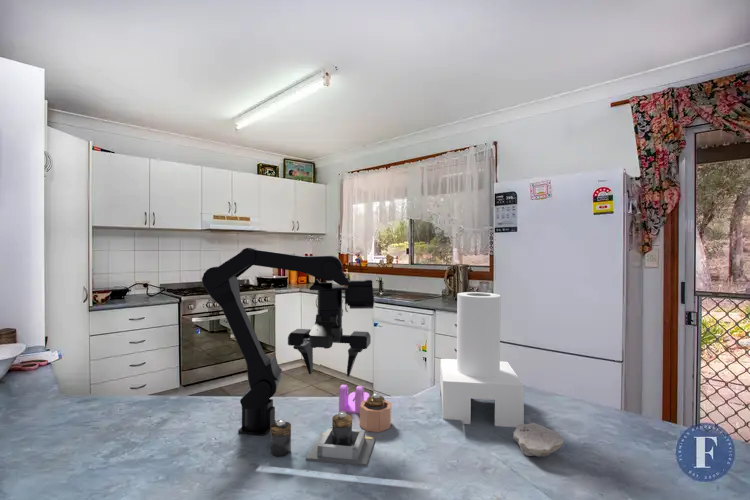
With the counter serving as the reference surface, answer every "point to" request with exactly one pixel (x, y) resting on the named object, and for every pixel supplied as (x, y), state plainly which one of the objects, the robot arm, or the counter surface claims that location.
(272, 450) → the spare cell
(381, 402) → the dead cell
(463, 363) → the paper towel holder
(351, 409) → the bracket
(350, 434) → the cell
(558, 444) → the fossil
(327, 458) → the cradle
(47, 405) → the counter surface
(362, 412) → the cup
